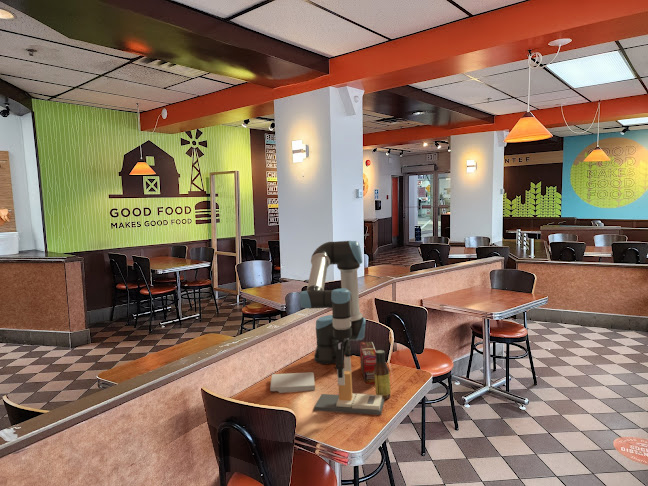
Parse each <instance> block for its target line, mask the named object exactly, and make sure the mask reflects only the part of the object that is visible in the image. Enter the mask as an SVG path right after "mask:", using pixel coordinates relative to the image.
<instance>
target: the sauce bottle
mask: <svg viewBox="0 0 648 486" xmlns="http://www.w3.org/2000/svg"><path fill="white" fill-rule="evenodd" d="M375 355H376V365H375V366H374V372H375V373H374V375H375V384H374V386H375V395H382V397H383V398H384V400H388V399H389V398H391V392H392V391H391V382H390V381H391V380H390V371H389V369H390V368H389V367H388V365H387V361H386V357H385V356H386V353H385V351H384V350H382V349H378V350H376V351H375Z"/></svg>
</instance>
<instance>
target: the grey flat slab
mask: <svg viewBox="0 0 648 486" xmlns="http://www.w3.org/2000/svg"><path fill="white" fill-rule="evenodd" d="M315 385H316V384H315V374H314V372H313V371H312V372H311V371H310V372H294V373H293V372H291V373H273V374H271V379H270V388H269V389H270V392H278V393H279V394H283V393H296V392H297V393H298V392H309V391H315V390H316V386H315Z"/></svg>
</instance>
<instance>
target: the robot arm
mask: <svg viewBox="0 0 648 486" xmlns="http://www.w3.org/2000/svg"><path fill="white" fill-rule="evenodd" d="M310 263H311V269H310V273H309V278H308V283H307V288H306V290H303V291H301V292H300V294H299V304H300V307H301V308H302V309H331V312H332V313H331V314H328V315H324V316H320V317H318V318H317V319H316V320H315V335H316V348H315V352H314V357H313V358H314V362H315V363H318V364H321V365H333V364H335V367H334V370H336V375H337V385H338V386H339V385H345V376H344V371H351V372H352V360H351V357H353V353H352V348H351V342H350V341H362V340H364V338H365V332H366V322H367V321H366V320H367V319H366V317H364V316H363V313H361V311H360V299H359V298H360V296H359V283H358V282H359V279H358V269H359V268H360V267H361V264H363V255H362V249H361V245H360V243H359V242H358V241H357V240H342V241H328V242H325V243H322V244H321V245H320V246H318V247H317V248H315V250H314V251H313V253H312V255H311V259H310ZM330 265H336V266H337V267H336V268H337V270H339V271H340V282H341V283H340V284H341V285H340V287H341V288H336V289H330V290H328V289H325V285H326V279H327V272H328V268H329V266H330Z"/></svg>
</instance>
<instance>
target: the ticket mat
mask: <svg viewBox="0 0 648 486" xmlns="http://www.w3.org/2000/svg"><path fill="white" fill-rule="evenodd" d="M338 399H339V394H331V393H330V394H329V393H326V394H325V393H321V394H320V397H319V398H318V400H317V401H316V404H315V405H314V407H313V409H314V411H317V412H318V411H319V412H332V413H333V412H334V413H346V414H348V413H349V414H360V415H361V414H364V415H375V416H381V415H382V413H383V408H384V405H385V399H384V398H383V397H382V395H376V394H373V393H372V394H369V393H355V397H354V400H353V402H352V406H351V407H337V406H336V403H337V401H338Z"/></svg>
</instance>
